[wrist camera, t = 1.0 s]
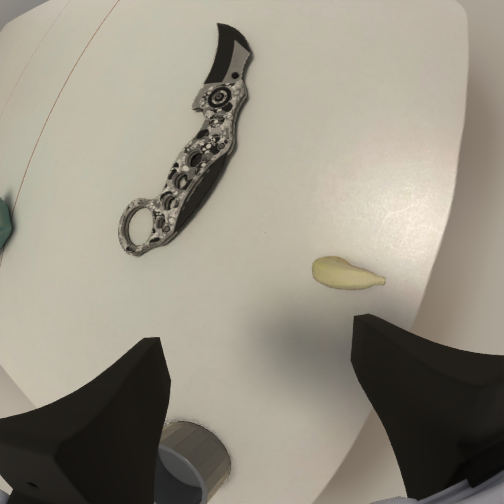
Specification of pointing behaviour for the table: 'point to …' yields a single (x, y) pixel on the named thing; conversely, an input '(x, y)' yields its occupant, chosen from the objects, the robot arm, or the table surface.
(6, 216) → the flower pot
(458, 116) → the table surface
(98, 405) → the robot arm
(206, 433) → the holder
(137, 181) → the table surface
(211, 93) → the knife
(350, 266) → the fruit
